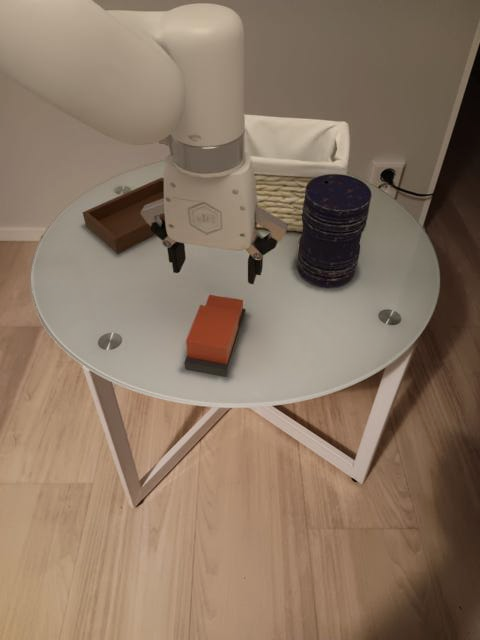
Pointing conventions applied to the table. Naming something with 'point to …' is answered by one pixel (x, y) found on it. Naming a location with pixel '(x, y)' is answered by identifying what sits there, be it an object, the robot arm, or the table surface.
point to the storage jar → (332, 229)
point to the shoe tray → (124, 217)
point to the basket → (293, 160)
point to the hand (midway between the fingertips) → (216, 271)
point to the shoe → (215, 335)
